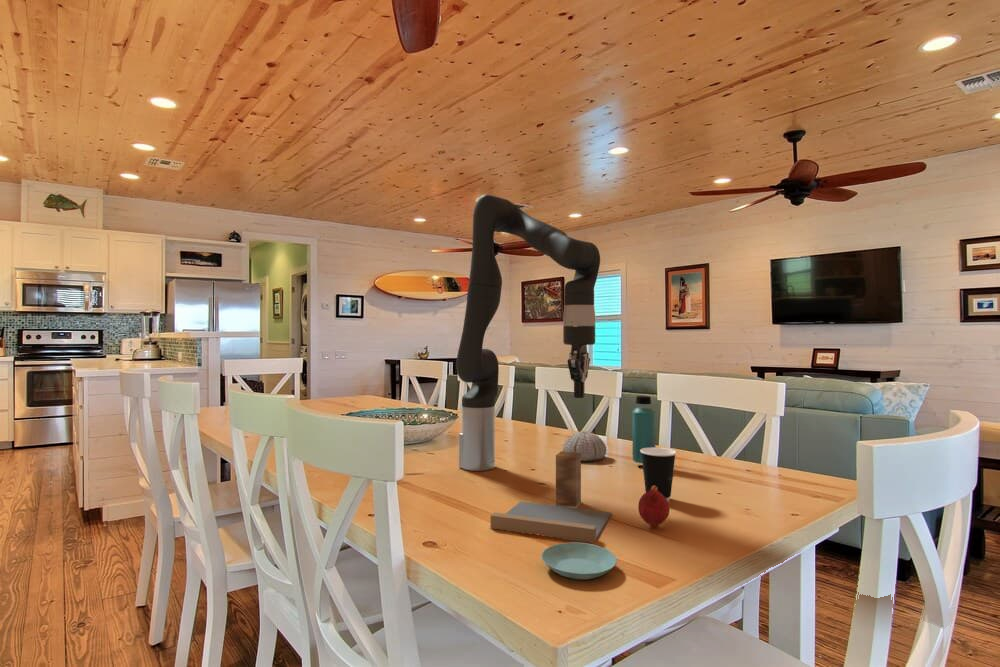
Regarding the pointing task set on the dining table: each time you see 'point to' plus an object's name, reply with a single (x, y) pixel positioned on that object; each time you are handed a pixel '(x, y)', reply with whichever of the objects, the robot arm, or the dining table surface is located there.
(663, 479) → the dixie cup
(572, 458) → the cardboard box
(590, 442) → the sea urchin shell
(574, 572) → the saucer
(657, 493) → the onion
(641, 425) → the beverage bottle
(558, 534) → the grey flat slab
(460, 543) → the dining table surface
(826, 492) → the dining table surface
